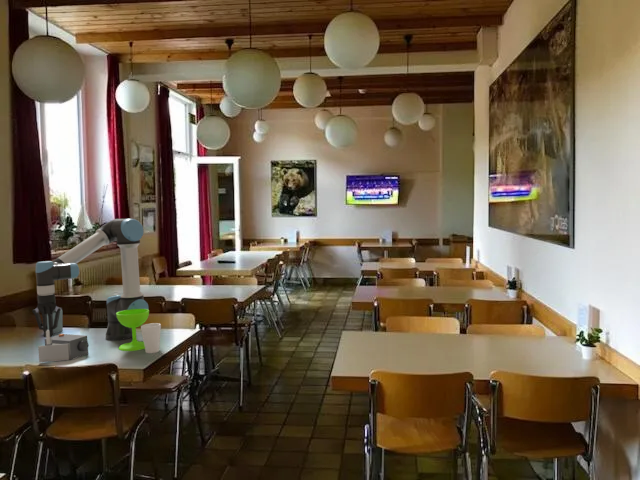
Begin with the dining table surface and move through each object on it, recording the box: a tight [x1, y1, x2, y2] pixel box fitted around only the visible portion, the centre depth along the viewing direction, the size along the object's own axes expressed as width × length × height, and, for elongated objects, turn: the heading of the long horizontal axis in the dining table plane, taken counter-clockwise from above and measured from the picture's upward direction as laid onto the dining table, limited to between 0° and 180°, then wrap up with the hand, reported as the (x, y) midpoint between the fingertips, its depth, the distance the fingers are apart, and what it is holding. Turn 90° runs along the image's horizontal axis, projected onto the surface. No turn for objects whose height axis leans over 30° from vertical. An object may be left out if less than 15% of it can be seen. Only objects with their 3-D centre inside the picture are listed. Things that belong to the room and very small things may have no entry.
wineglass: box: [116, 308, 150, 352], centre depth 295 cm, size 16×16×18 cm
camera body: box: [43, 333, 89, 361], centre depth 283 cm, size 18×11×10 cm, turn 67°
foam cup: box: [140, 322, 162, 354], centre depth 284 cm, size 10×9×13 cm
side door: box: [37, 343, 71, 363], centre depth 273 cm, size 14×1×8 cm, turn 102°
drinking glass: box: [47, 309, 64, 334], centre depth 340 cm, size 10×10×12 cm
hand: (49, 343), depth 275 cm, fingers closed
